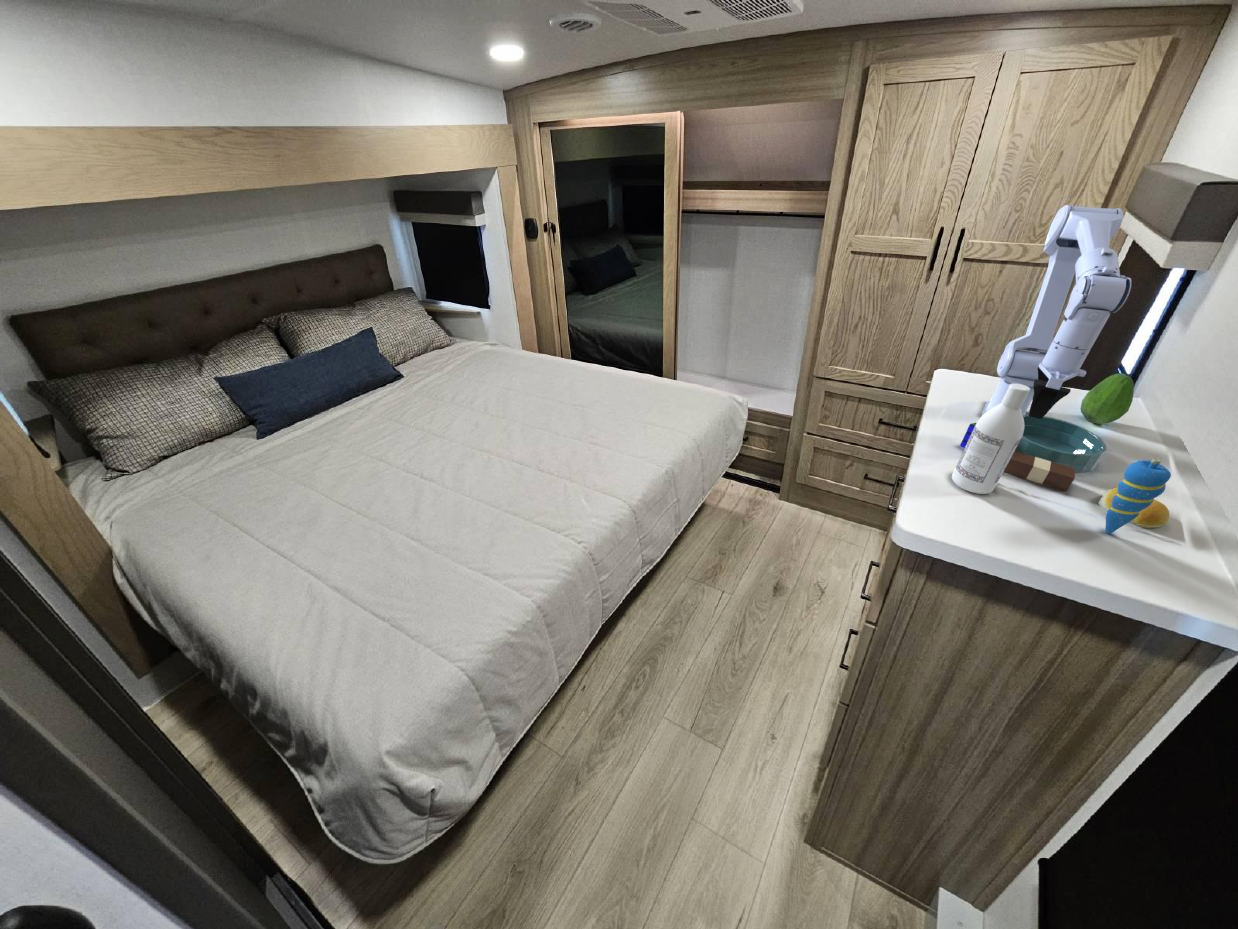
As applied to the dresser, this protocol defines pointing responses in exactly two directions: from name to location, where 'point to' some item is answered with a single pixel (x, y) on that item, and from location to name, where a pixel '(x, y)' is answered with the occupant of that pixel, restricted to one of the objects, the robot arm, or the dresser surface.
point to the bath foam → (992, 443)
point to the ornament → (1136, 492)
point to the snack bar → (1040, 471)
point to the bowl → (1061, 443)
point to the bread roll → (1148, 517)
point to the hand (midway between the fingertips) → (1036, 410)
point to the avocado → (1108, 399)
